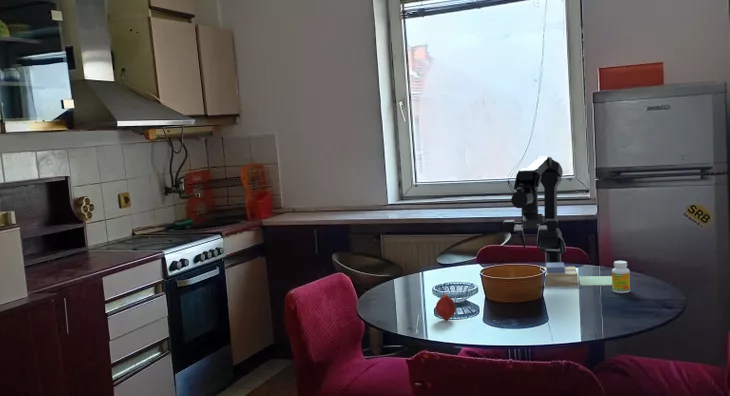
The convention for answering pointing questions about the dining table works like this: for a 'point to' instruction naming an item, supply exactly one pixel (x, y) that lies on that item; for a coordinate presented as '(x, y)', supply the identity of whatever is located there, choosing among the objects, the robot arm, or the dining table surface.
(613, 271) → the supplement bottle
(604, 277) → the mat
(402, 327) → the dining table surface
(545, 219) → the robot arm
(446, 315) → the onion
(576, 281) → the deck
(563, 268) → the periwinkle blue block
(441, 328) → the dining table surface
